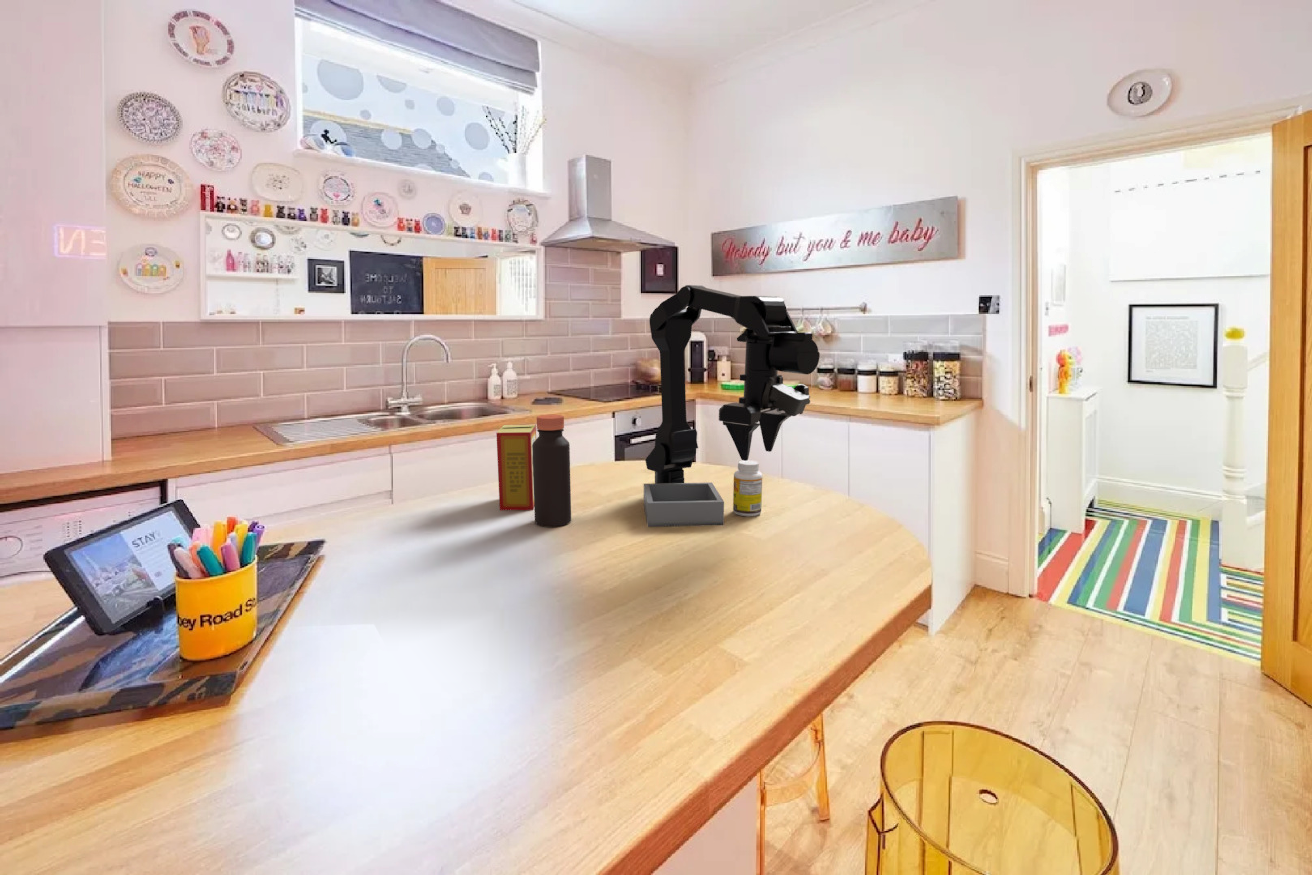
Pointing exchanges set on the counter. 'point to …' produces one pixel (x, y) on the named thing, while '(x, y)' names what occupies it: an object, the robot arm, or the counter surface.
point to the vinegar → (551, 473)
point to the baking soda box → (516, 466)
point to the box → (683, 504)
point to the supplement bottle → (747, 489)
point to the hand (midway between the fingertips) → (756, 455)
